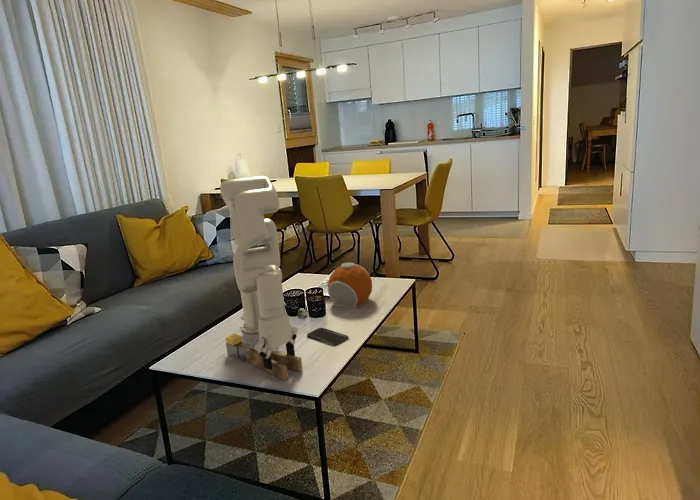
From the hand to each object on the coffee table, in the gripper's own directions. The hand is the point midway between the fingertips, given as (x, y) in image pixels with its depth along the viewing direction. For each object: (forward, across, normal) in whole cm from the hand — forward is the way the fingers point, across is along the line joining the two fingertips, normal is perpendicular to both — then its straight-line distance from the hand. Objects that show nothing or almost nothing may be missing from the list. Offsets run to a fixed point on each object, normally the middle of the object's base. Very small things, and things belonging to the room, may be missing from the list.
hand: (280, 361), depth 149 cm
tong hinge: (+3, 0, -20) cm, 21 cm away
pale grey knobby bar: (+3, -40, -37) cm, 55 cm away
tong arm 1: (+3, +2, -5) cm, 6 cm away
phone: (+4, -26, -4) cm, 27 cm away
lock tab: (-2, 0, -23) cm, 23 cm away
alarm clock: (+3, -58, -17) cm, 61 cm away
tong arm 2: (+3, -2, -5) cm, 6 cm away
